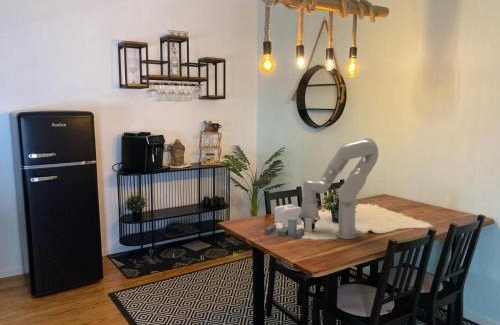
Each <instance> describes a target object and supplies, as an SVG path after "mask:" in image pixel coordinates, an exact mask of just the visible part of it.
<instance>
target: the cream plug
mask: <svg viewBox="0 0 500 325" xmlns="http://www.w3.org/2000/svg"><path fill="white" fill-rule="evenodd" d="M313 231H314V230H312V219H311V218H305V229H304V232H305V233H306V232H307V233H312V232H313Z"/></svg>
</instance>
